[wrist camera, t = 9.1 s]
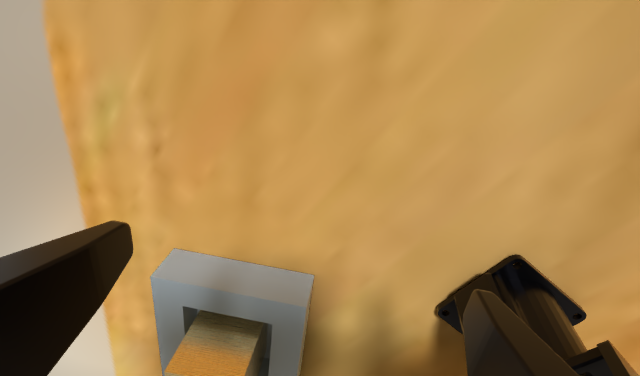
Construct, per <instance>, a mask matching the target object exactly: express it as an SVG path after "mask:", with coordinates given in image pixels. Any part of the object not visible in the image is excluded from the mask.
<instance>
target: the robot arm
mask: <svg viewBox="0 0 640 376" xmlns="http://www.w3.org/2000/svg"><path fill="white" fill-rule="evenodd" d="M132 254H133V242H132V235H131V229H130V226H129V224H127V223H124V222H119V221H109V222H106V223H103V224H100V225H97V226H94V227H91V228H88V229H85V230H82V231H79V232H76V233H73V234H70V235H67V236H64V237H61V238H58V239H55V240H52V241H49V242H46V243H43V244H40V245H37V246H34V247H31V248H28V249H24V250H21V251H18V252H16V253H13V254H10V255H6V256H3V257H1V258H0V376H47V375H48V374H49V373H50V371H51V370H52V369H53V367H54V366H55V365H56V364H57V362H58V361H59V360H60V358H61V357H62V356H63V354H64V353H65V352H66V351H67V349H68V348H69V347H70V345H71V344H72V343H73V341H74V340H75V339H76V337H77V336H78V335H79V334H80V332H81V331H82V330H83V328H84V327H85V326H86V325H87V323H88V322H89V321H90V319H91V318H92V317H93V315H94V314H95V313H96V311H97V310H98V309H99V307H100V306H101V305H102V303H103V302H104V300H105V299H106V297H107V295H108V294H109V292H110V291H111V289H112V287H113V286H114V284H115V283H116V281H117V279H118V278H119V276H120V274H121V273H122V271H123V270H124V268H125V266H126V265H127V263H128V262H129V260H130V258H131V256H132ZM516 262H519V263H518V264H517V265H513V264H514V263H516ZM444 310H448V311H444ZM437 311H438V315H439V316H440V317H441V318H442V319H443V320H445V321H446V322H447V323H448V324H450V325H451V326H452V327H454V328H455V329H456V330H458V331H459V332H460V333H461V334H463V335H464V341H465V352H466V363H467V374H468V376H639V375H638V374H637V373H636V372H635V370H634V369H633V368H632V367H631V366H630V365H629V363H628V362H627V361H626V360H625V359H624V358H623V356H622V355H621V354H620V353H619V352H618V351H617V349H616V348H615V347H614V346H613V345H612V344H611V342H610V341H609V340H607V341H605V342H602V343H599V344H597V346H598V347H596V348H593V349H591V350H588V351H587V349H586V348H585V346H584V344H583V343H582V341H581V339H580V338H579V336H578V334H577V333H576V331H575V329H574V328H573V326H574V325H576V324H578V323H580V322H582V321H583V320H585V318H586V313H585V312H584V310H583V309H582V307H580V306H579V305H578V304H577V303H576V302H575V301H573V300H572V299H571V298H570V297H569V296H568V295H566V294H565V293H564V292H563V291H562V290H561V289H559V288H558V287H557V286H556V285H555V284H554V283H552V282H551V281H550V280H549V279H548V278H547V277H545V276H544V275H543V274H542V273H541V272H540V271H539V270H537V269H536V268H535V267H534V266H533V265H532V264H530V263H529V262H528V261H527V260H526V259H525V258H523V257H522V256H520V255H512V256H510V257H508V258H507V259H505V260H504V261H502V262H501V263H499V264H498V265H496V266H495V267H494V268H492V269H491V270H489V271H488V272H486V273H485V274H483V275H482V276H480V277H479V278H477V279H476V280H474V281H473V282H472V283H470V284H469V285H467V286H466V287H464V288H463V289H461V290H460V291H458V292H457V293H455V294H454V295H452V296H451V297H450V298H448V299H447V300H445V301H444V302H442V303H441V304H439V305H438V307H437ZM574 314H576V315H574Z"/></svg>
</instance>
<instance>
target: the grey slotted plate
mask: <svg viewBox="0 0 640 376" xmlns="http://www.w3.org/2000/svg"><path fill="white" fill-rule="evenodd" d="M150 277H151V286H152V294H153V302H154V310H155V318H156V326H157V334H158V342H159V350H160V358H161V366H162V374H163V376H165V375H164V371H165V369H166V367H167V366H168V364H169V362H170V361H171V359H172V357H173V356H174V354H175V352H176V350H177V349H178V347H179V345H180V344H181V342H182V340H183V338H184V337H185V335H186V333H187V332H188V330H189V328H190V326H191V325H192V323H193V321H194V320H195V318H196V316H197V315H198V313H199V311H200V310H204V311H209V312H214V313H219V314H224V315H229V316H234V317H239V318H244V319H249V320H254V321H259V322H264V323H268V331H267V346H266V353H265V356H264V359H263V362H262V365H261V368H260V371H259V374H258V376H300V371H301V364H302V357H303V350H304V343H305V336H306V330H307V323H308V316H309V309H310V302H311V295H312V288H313V281H314V275H311V274H305V273H300V272H295V271H290V270H285V269H279V268H274V267H269V266H264V265H258V264H253V263H248V262H243V261H238V260H232V259H227V258H222V257H217V256H211V255H206V254H201V253H196V252H191V251H185V250H180V249H175V248H174V249H173V250H172V251H171V253H170V254H169V255H168V256H167V257H166V259H165V260H164V261H163V262H162V263H161V265H160V266H159V267H158V268H157V269H156V270H155V272H154V273H153V274H152V275H151V276H150Z"/></svg>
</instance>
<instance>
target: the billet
mask: <svg viewBox="0 0 640 376" xmlns="http://www.w3.org/2000/svg"><path fill="white" fill-rule="evenodd" d="M267 331H268V323H264V322H259V321H254V320H249V319H244V318H239V317H234V316H229V315H224V314H219V313H214V312H209V311H204V310H200V311H199V313H198V315H197V316H196V318H195V320H194V321H193V323H192V325H191V326H190V328H189V330H188V332H187V333H186V335H185V337H184V338H183V340H182V342H181V344H180V345H179V347H178V349H177V350H176V352H175V354H174V356H173V357H172V359H171V361H170V362H169V364H168V366H167V367H166V369H165V371H164V375H165V376H258V374H259V371H260V368H261V365H262V362H263V359H264V356H265V353H266V346H267Z"/></svg>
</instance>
